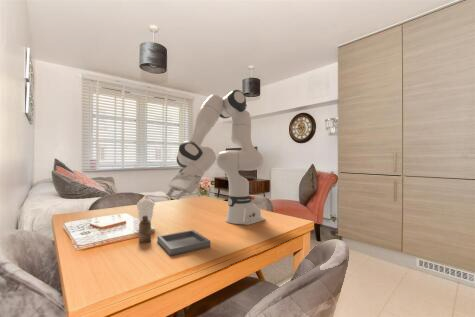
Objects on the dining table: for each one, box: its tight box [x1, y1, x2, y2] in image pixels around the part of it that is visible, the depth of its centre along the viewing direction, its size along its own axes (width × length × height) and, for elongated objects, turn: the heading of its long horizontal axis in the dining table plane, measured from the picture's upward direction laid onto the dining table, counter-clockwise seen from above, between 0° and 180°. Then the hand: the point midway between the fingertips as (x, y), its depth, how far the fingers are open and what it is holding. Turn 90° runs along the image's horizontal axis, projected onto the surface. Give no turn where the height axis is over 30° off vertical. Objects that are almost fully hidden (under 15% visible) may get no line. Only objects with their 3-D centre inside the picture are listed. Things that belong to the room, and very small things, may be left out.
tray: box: [156, 229, 211, 257], centre depth 96 cm, size 16×16×2 cm
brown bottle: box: [138, 215, 152, 244], centre depth 99 cm, size 5×5×11 cm
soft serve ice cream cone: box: [136, 194, 156, 223], centre depth 119 cm, size 8×8×16 cm
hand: (171, 197), depth 108 cm, fingers open, 8 cm apart
